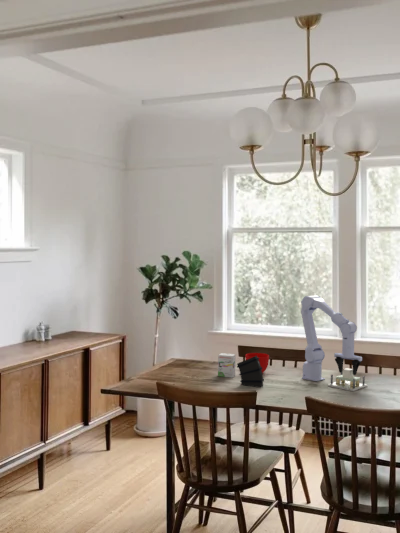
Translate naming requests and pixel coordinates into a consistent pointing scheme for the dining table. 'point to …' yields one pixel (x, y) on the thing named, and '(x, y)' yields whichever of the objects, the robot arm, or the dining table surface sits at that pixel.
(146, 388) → the dining table surface
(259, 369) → the magazine
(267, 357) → the ceramic cup
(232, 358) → the ink box
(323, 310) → the robot arm
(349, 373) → the sage board
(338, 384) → the plate
